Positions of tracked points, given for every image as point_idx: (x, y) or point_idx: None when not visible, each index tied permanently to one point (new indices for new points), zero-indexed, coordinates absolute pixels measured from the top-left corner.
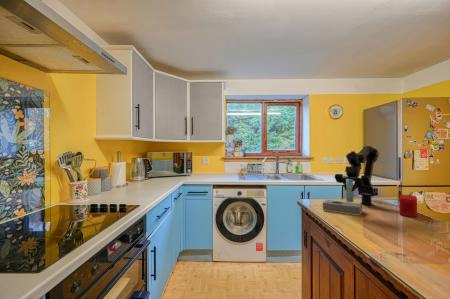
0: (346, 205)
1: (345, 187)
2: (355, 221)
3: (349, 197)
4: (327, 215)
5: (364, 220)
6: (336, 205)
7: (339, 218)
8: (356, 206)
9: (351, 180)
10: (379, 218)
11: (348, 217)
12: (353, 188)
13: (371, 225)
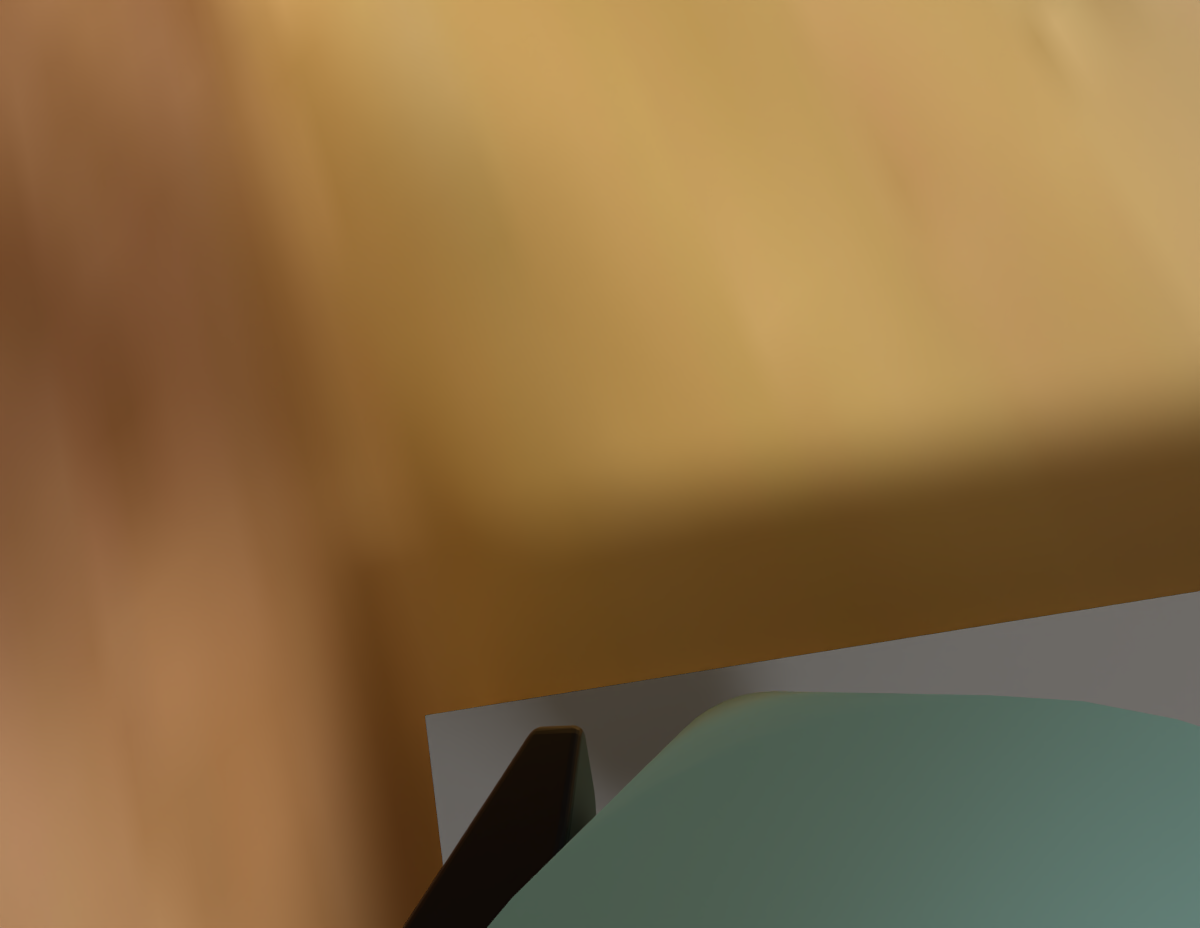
0: None
1: None
2: (395, 125)
3: (744, 696)
4: (1072, 107)
5: (270, 345)
6: (1161, 599)
7: (740, 83)
8: None
9: (492, 925)
10: (44, 790)
11: (622, 319)
12: (488, 824)
13: (80, 96)
